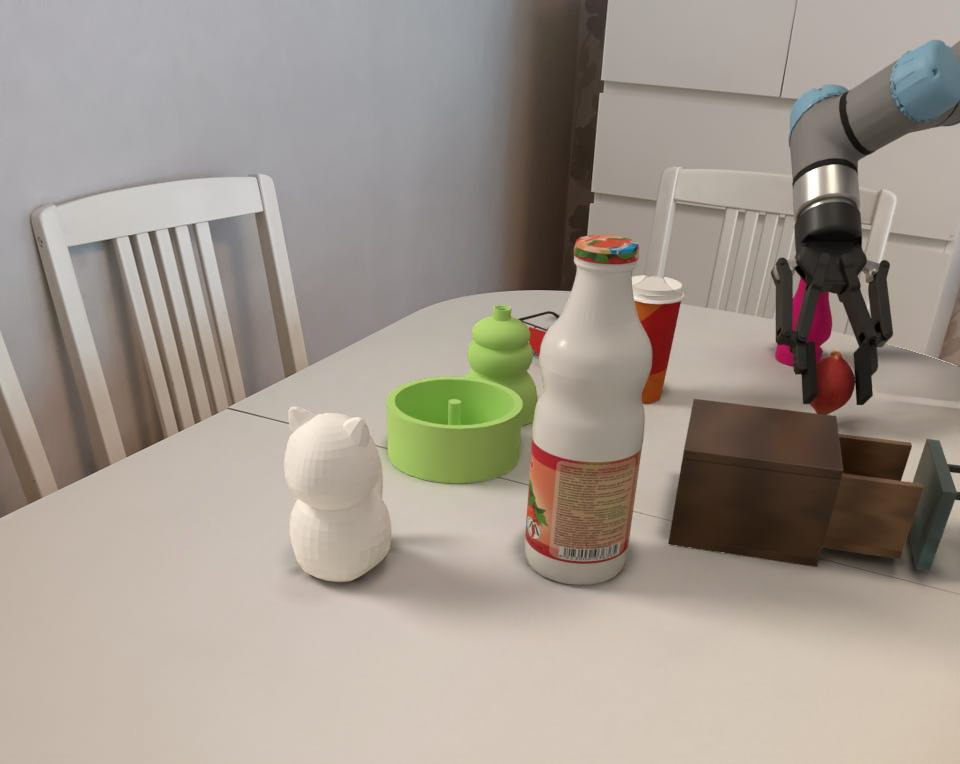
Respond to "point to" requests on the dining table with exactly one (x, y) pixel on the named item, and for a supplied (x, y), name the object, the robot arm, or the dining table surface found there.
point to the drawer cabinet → (757, 482)
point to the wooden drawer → (891, 500)
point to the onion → (833, 383)
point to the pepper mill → (818, 328)
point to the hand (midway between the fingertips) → (837, 399)
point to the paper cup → (657, 325)
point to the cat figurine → (335, 496)
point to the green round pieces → (467, 409)
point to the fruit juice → (589, 421)
